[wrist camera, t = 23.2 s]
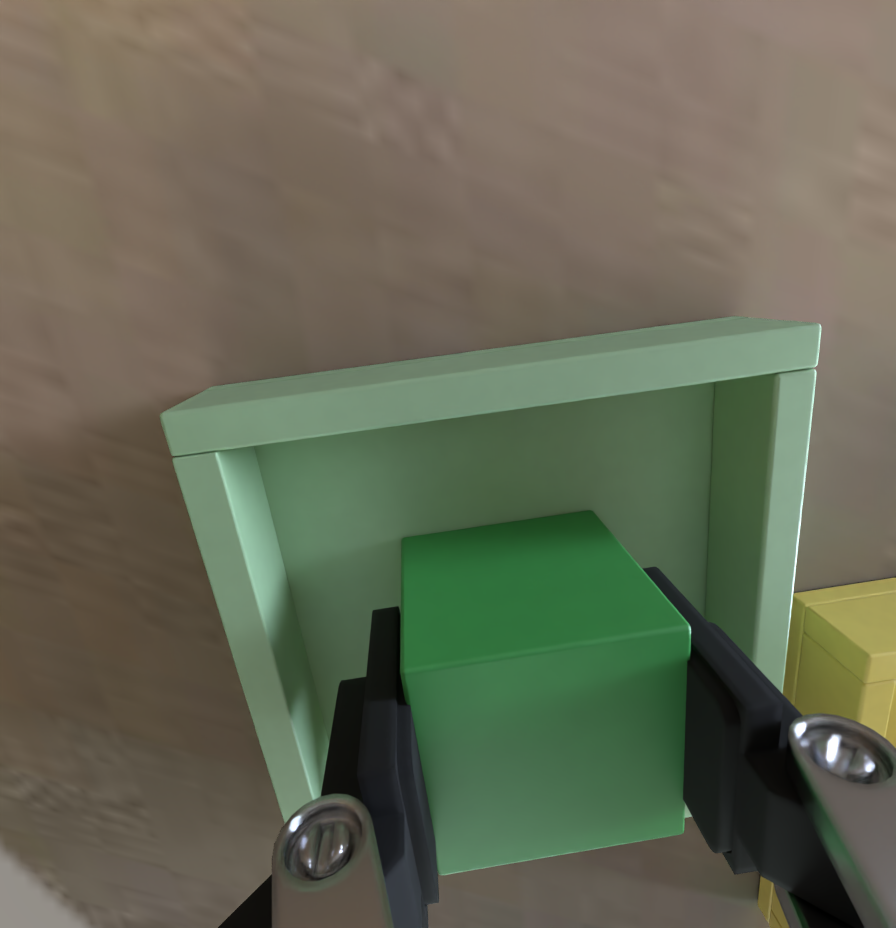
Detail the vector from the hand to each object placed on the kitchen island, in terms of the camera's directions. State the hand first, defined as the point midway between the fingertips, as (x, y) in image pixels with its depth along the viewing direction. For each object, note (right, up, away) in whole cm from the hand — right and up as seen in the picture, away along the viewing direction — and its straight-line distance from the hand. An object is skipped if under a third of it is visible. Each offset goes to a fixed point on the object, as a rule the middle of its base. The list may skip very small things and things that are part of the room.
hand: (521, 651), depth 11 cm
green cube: (0, 0, +2) cm, 2 cm away
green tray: (0, +1, +2) cm, 2 cm away
